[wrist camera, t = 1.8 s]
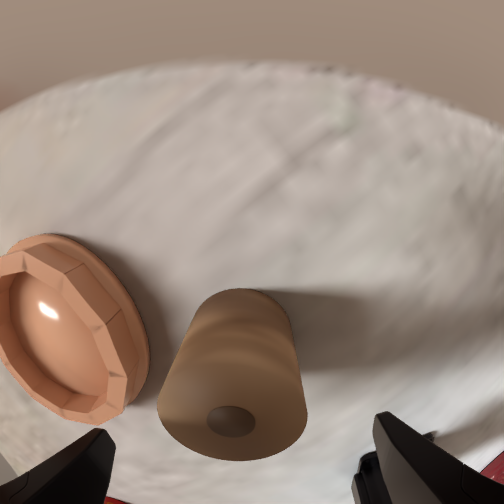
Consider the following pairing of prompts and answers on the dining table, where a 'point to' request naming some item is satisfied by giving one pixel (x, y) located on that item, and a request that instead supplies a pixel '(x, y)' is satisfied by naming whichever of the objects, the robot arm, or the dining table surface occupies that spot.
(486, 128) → the dining table surface
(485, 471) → the canister
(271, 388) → the bead
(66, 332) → the dish
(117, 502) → the canned food
